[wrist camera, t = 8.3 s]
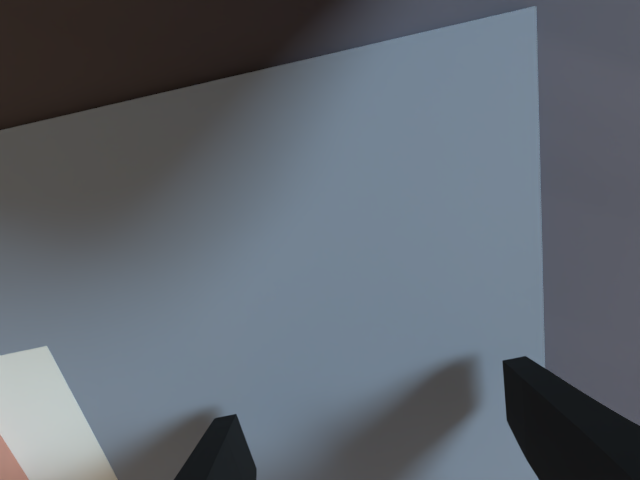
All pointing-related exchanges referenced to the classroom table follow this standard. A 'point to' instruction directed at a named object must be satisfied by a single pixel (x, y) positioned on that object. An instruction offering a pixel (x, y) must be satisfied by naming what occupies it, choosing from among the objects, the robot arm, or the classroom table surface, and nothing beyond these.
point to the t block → (9, 464)
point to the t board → (282, 267)
